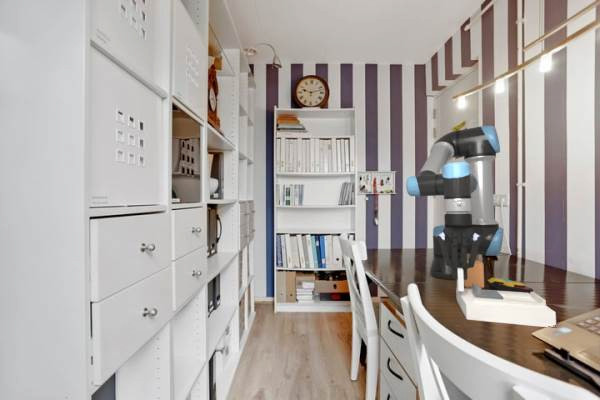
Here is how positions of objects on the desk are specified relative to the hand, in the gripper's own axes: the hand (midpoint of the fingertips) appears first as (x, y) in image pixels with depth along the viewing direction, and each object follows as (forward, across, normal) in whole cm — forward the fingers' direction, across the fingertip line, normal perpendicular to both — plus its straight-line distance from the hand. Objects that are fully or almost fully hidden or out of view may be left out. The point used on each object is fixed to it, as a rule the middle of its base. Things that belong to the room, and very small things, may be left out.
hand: (460, 290), depth 90 cm
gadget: (+6, +18, +19) cm, 27 cm away
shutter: (+2, +7, 0) cm, 7 cm away
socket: (+6, +10, 0) cm, 12 cm away
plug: (+6, +6, +15) cm, 17 cm away
